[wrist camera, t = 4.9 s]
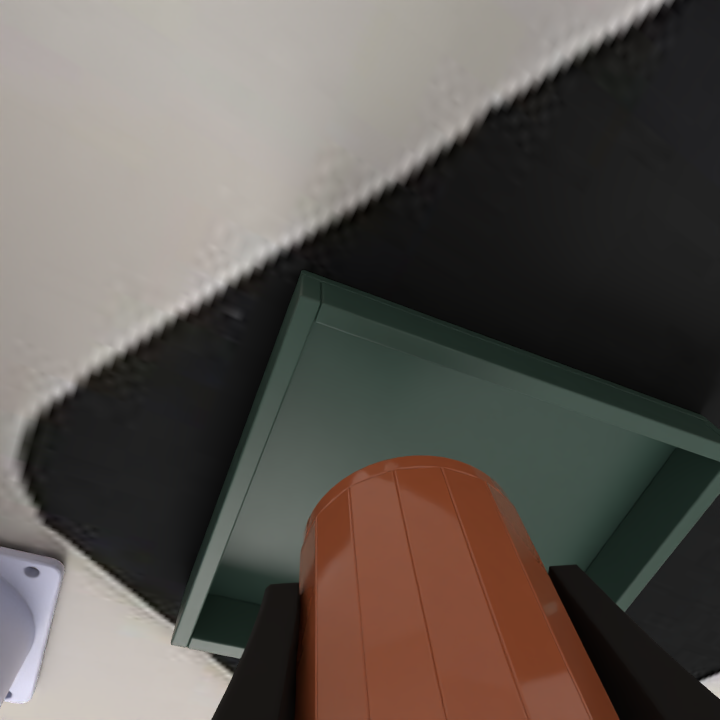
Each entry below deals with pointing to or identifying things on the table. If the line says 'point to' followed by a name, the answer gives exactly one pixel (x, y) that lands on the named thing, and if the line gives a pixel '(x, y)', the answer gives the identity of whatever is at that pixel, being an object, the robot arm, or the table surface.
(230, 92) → the table surface
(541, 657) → the cup
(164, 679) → the table surface
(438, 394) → the tray
